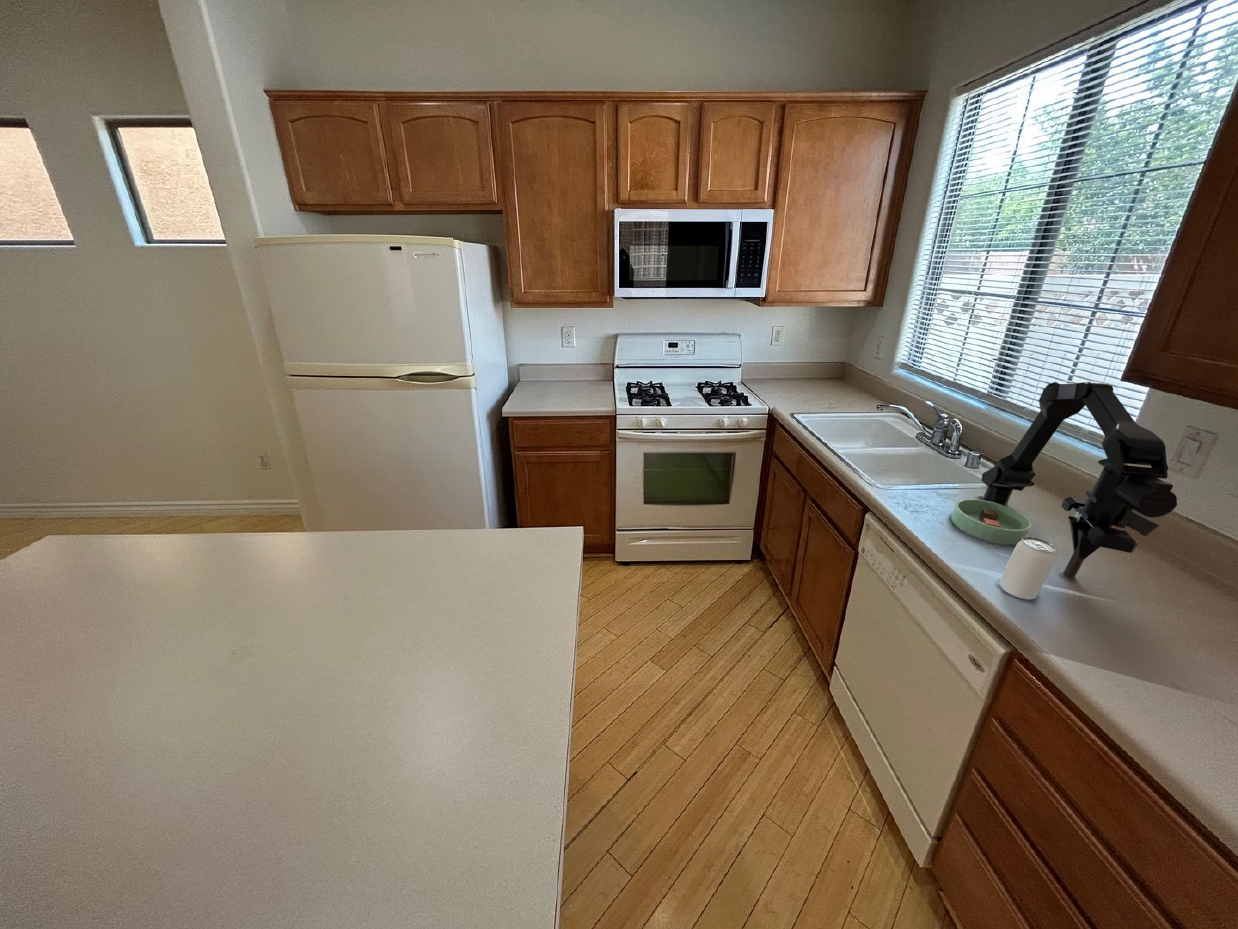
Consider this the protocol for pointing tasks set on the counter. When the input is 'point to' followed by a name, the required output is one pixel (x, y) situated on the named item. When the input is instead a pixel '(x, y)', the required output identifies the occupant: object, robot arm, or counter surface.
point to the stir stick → (1073, 565)
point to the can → (1028, 568)
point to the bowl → (1008, 519)
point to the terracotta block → (991, 522)
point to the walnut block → (988, 514)
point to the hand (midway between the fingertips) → (1079, 555)
